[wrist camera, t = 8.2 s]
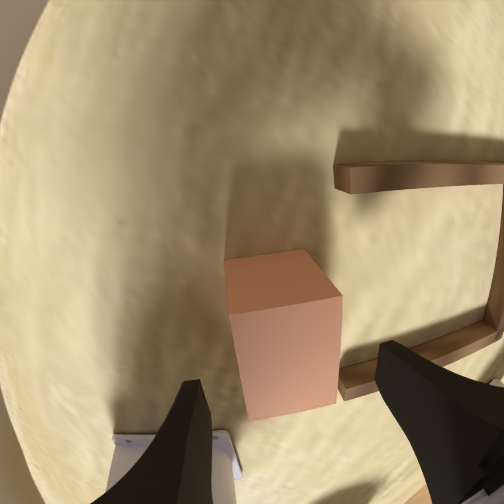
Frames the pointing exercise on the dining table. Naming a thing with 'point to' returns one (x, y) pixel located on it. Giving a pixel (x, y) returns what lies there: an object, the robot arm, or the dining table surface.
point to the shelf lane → (500, 299)
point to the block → (284, 332)
